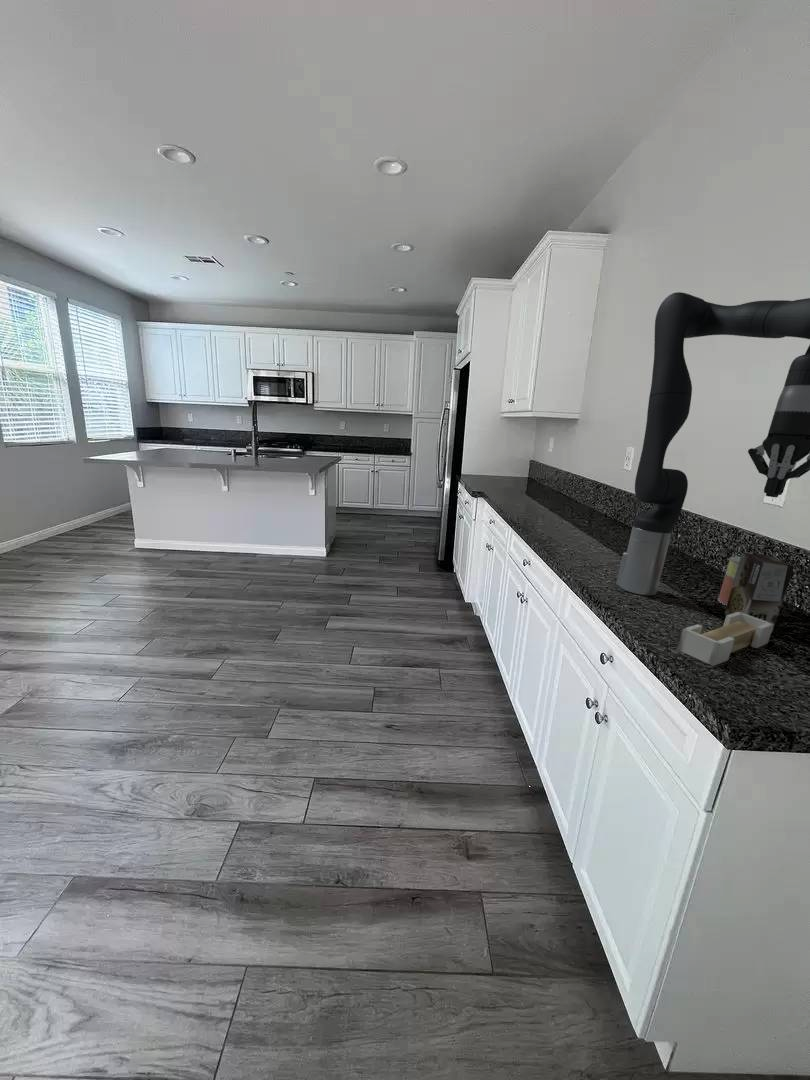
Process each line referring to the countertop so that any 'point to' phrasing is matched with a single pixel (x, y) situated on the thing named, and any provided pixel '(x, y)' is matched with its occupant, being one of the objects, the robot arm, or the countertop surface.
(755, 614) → the coffee box
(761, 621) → the end cap
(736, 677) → the countertop surface
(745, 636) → the oak bar
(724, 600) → the canned food
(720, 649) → the end cap
